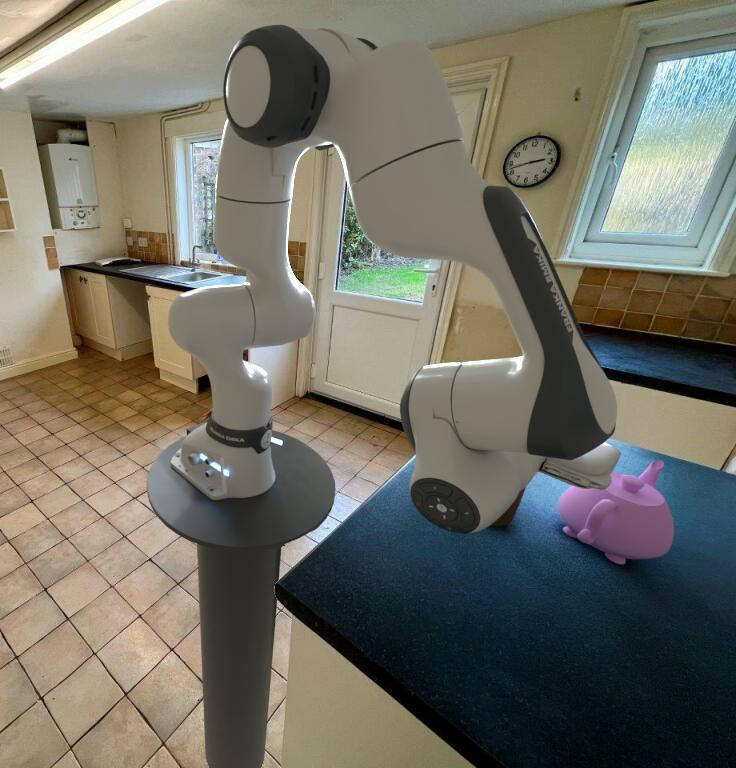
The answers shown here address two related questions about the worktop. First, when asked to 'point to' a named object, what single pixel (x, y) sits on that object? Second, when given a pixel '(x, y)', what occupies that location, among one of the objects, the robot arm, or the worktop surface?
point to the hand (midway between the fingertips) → (535, 415)
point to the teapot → (621, 516)
